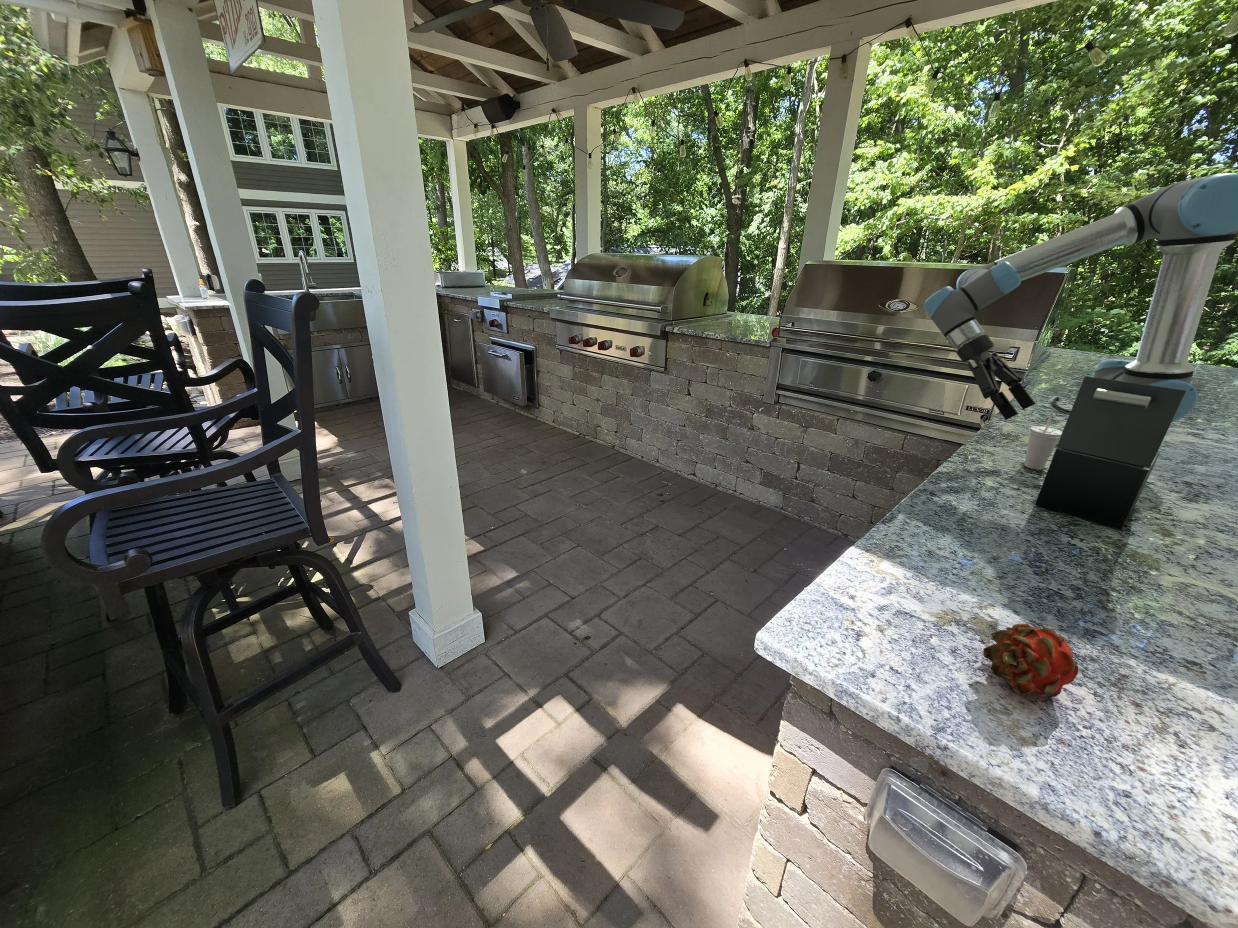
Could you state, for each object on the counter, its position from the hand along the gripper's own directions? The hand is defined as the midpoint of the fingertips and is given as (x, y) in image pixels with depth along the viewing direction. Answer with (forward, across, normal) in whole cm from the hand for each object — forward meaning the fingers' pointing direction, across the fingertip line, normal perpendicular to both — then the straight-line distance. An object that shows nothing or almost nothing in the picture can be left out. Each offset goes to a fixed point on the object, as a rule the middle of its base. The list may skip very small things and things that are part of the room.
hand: (1021, 411), depth 124 cm
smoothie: (+14, 0, -5) cm, 14 cm away
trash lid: (+8, +23, +19) cm, 31 cm away
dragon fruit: (+27, +83, +9) cm, 88 cm away
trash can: (+23, +17, +4) cm, 29 cm away
